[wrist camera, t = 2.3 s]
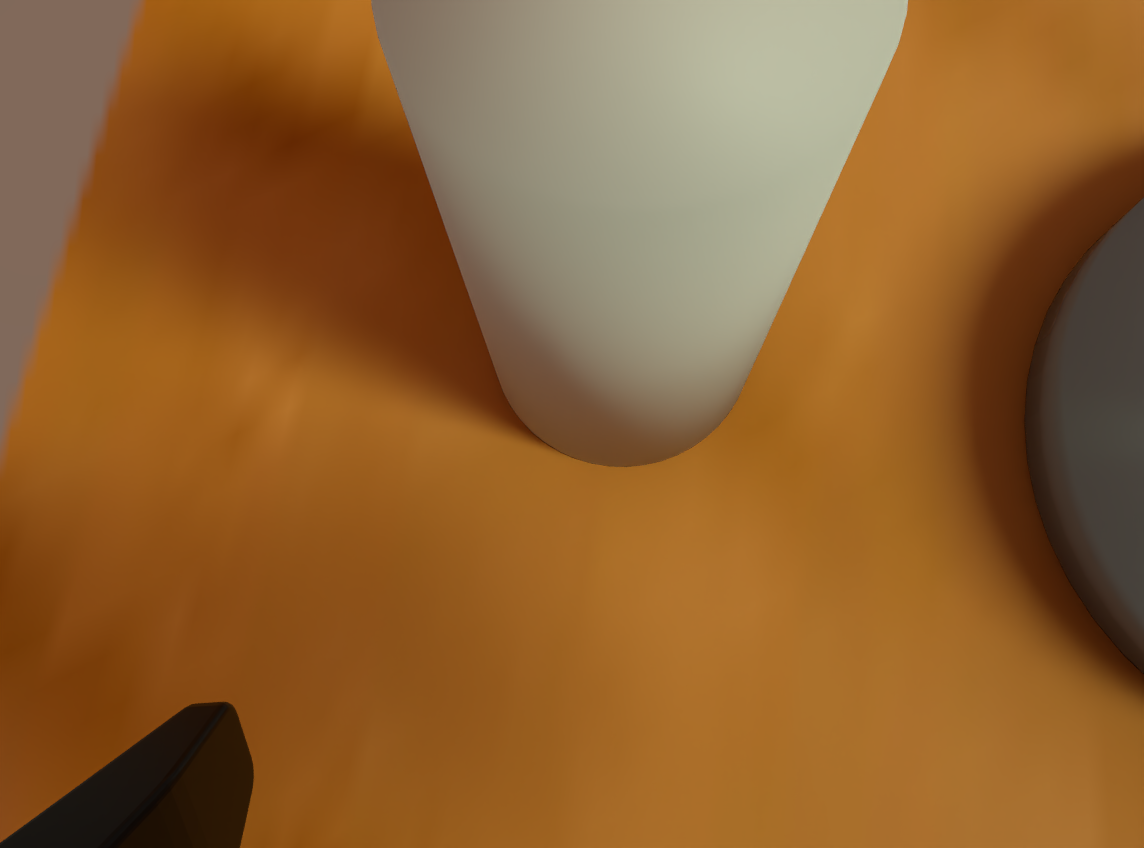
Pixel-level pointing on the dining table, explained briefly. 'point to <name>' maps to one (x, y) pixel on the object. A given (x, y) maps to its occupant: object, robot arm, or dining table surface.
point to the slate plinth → (1095, 430)
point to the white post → (632, 189)
